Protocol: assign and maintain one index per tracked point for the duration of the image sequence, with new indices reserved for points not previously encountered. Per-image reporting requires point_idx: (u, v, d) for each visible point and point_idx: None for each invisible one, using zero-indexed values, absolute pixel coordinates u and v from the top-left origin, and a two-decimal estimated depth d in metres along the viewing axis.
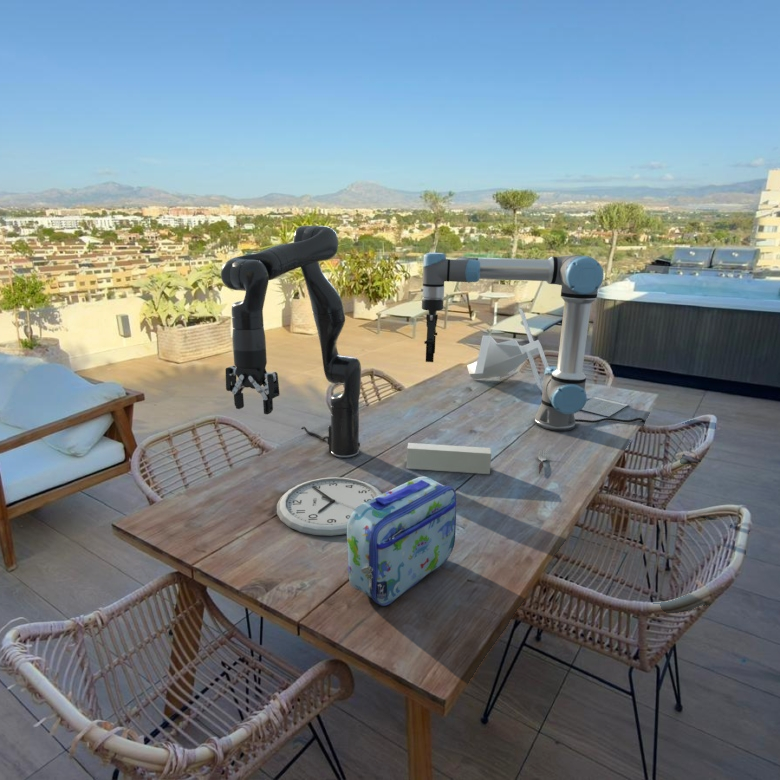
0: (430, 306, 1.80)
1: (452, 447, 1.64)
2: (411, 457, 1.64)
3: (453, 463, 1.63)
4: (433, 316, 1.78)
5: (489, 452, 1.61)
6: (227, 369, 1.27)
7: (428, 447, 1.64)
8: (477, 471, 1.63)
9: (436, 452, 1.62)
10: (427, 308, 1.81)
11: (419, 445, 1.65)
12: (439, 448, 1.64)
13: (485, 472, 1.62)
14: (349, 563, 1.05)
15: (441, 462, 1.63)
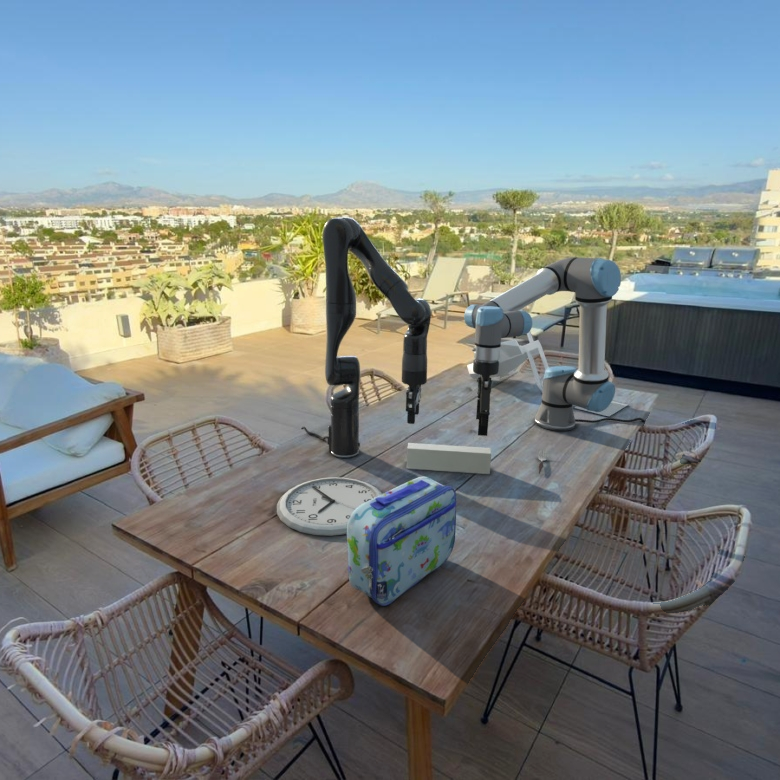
0: (484, 370, 1.51)
1: (452, 447, 1.64)
2: (411, 457, 1.64)
3: (453, 463, 1.63)
4: (488, 383, 1.49)
5: (489, 452, 1.61)
6: (415, 393, 1.51)
7: (428, 447, 1.64)
8: (477, 471, 1.63)
9: (436, 452, 1.62)
10: (480, 372, 1.52)
11: (419, 445, 1.65)
12: (439, 448, 1.64)
13: (485, 472, 1.62)
14: (349, 563, 1.05)
15: (441, 462, 1.63)
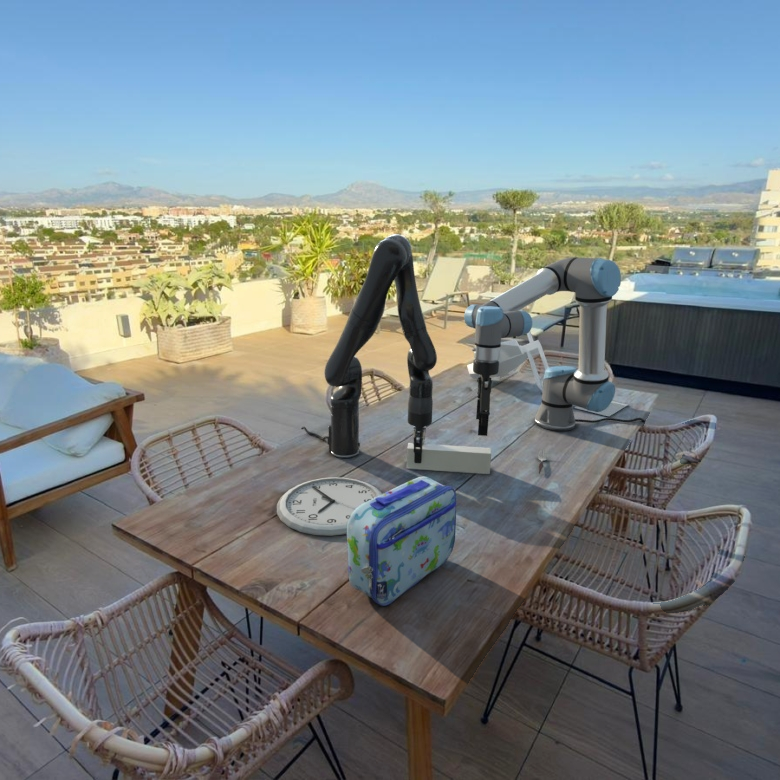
0: (484, 370, 1.51)
1: (452, 447, 1.64)
2: (411, 457, 1.64)
3: (453, 463, 1.63)
4: (488, 383, 1.49)
5: (489, 452, 1.61)
6: (422, 438, 1.57)
7: (428, 447, 1.64)
8: (477, 471, 1.63)
9: (436, 452, 1.62)
10: (480, 372, 1.52)
11: None
12: (439, 448, 1.64)
13: (485, 472, 1.62)
14: (349, 563, 1.05)
15: (441, 462, 1.63)
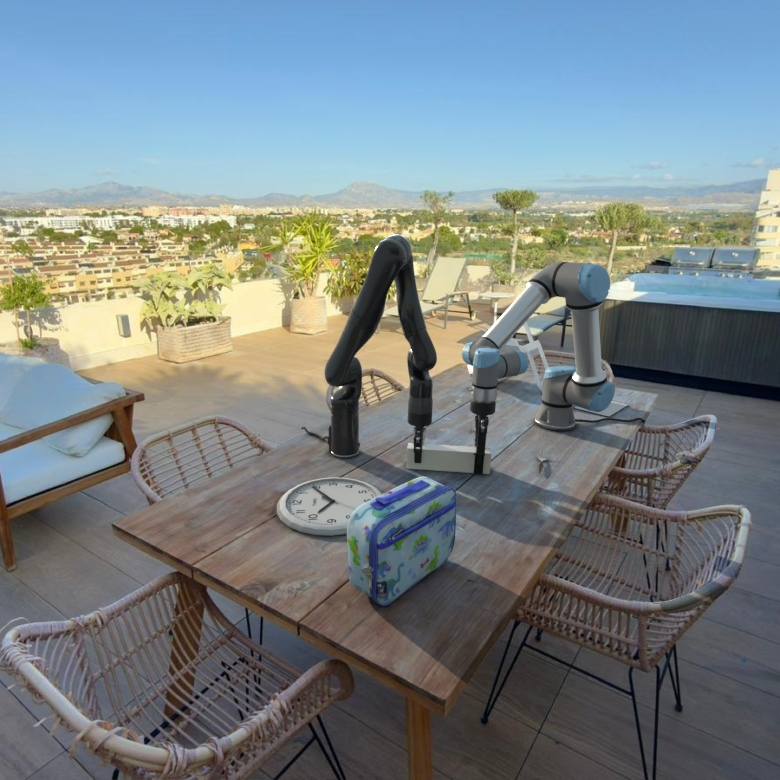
0: (481, 411, 1.55)
1: (452, 447, 1.64)
2: (411, 457, 1.64)
3: (453, 463, 1.63)
4: (485, 429, 1.54)
5: (489, 452, 1.61)
6: (422, 438, 1.57)
7: (428, 447, 1.64)
8: None
9: (436, 452, 1.62)
10: (477, 412, 1.56)
11: None
12: (439, 448, 1.64)
13: (485, 472, 1.62)
14: (349, 563, 1.05)
15: (441, 462, 1.63)
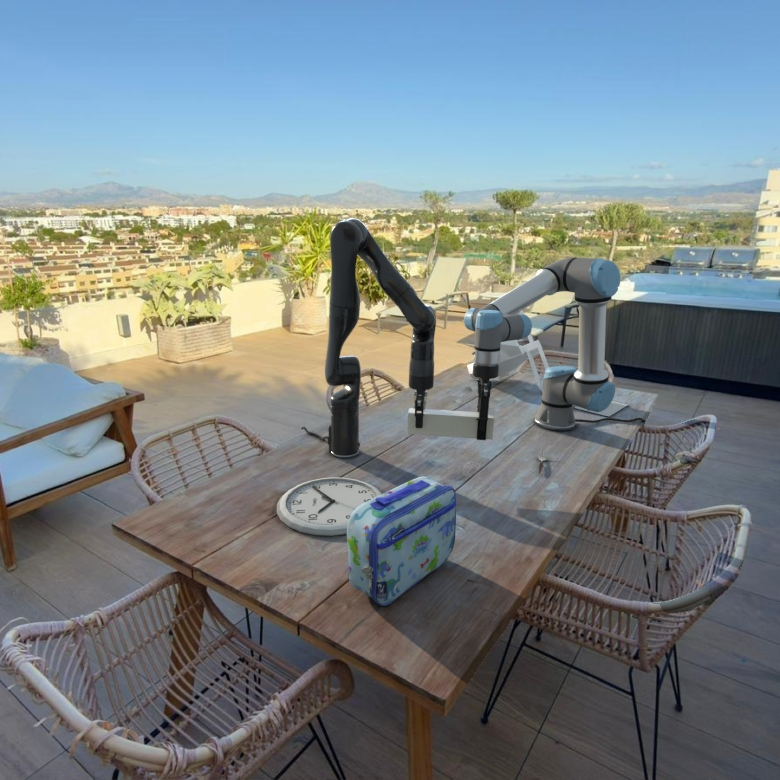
0: (484, 374, 1.52)
1: (454, 412, 1.61)
2: (412, 422, 1.61)
3: (455, 428, 1.59)
4: (488, 392, 1.50)
5: (492, 417, 1.58)
6: (423, 401, 1.54)
7: (429, 412, 1.61)
8: None
9: (438, 417, 1.59)
10: (480, 376, 1.53)
11: None
12: (441, 413, 1.60)
13: (488, 437, 1.59)
14: (349, 563, 1.05)
15: (443, 427, 1.60)
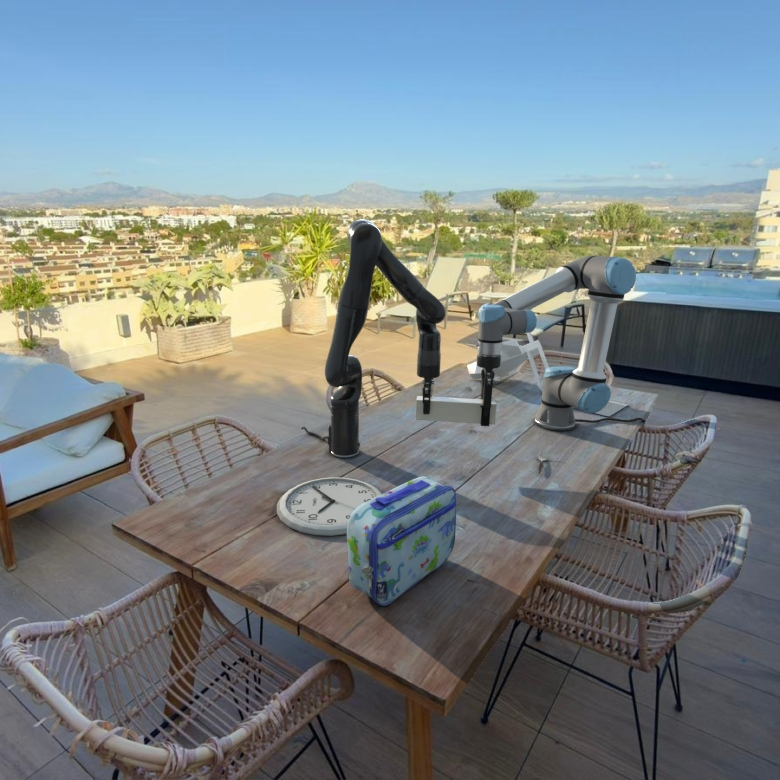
0: (488, 364, 1.64)
1: (459, 399, 1.73)
2: (420, 409, 1.72)
3: (460, 414, 1.71)
4: (491, 381, 1.62)
5: (494, 403, 1.70)
6: (430, 388, 1.66)
7: (436, 399, 1.73)
8: None
9: (444, 404, 1.71)
10: (484, 366, 1.64)
11: (427, 398, 1.74)
12: (447, 400, 1.72)
13: (490, 422, 1.71)
14: (349, 563, 1.05)
15: (449, 413, 1.72)
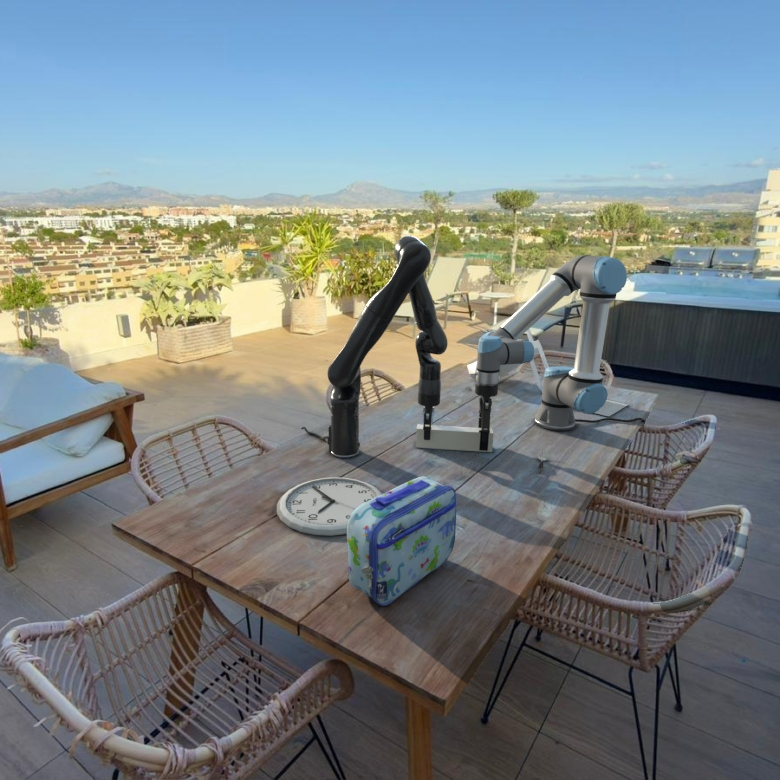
0: (485, 393, 1.71)
1: (457, 428, 1.80)
2: (420, 437, 1.80)
3: (459, 442, 1.79)
4: (489, 404, 1.69)
5: (491, 432, 1.77)
6: (431, 414, 1.73)
7: (435, 427, 1.80)
8: None
9: (443, 432, 1.78)
10: (482, 394, 1.72)
11: None
12: (446, 428, 1.80)
13: (488, 450, 1.78)
14: (349, 563, 1.05)
15: (448, 441, 1.79)
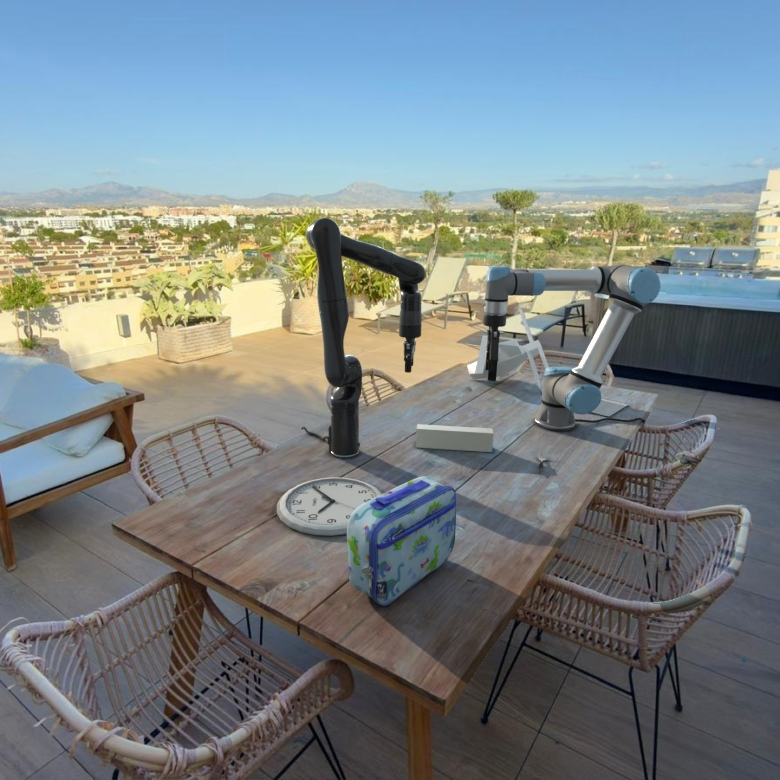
0: (493, 322, 1.71)
1: (457, 428, 1.80)
2: (420, 437, 1.80)
3: (459, 442, 1.79)
4: (497, 333, 1.69)
5: (491, 432, 1.77)
6: (412, 344, 1.72)
7: (435, 427, 1.80)
8: (480, 449, 1.79)
9: (443, 432, 1.78)
10: (490, 324, 1.72)
11: (427, 426, 1.81)
12: (446, 428, 1.80)
13: (488, 450, 1.78)
14: (349, 563, 1.05)
15: (448, 441, 1.79)
